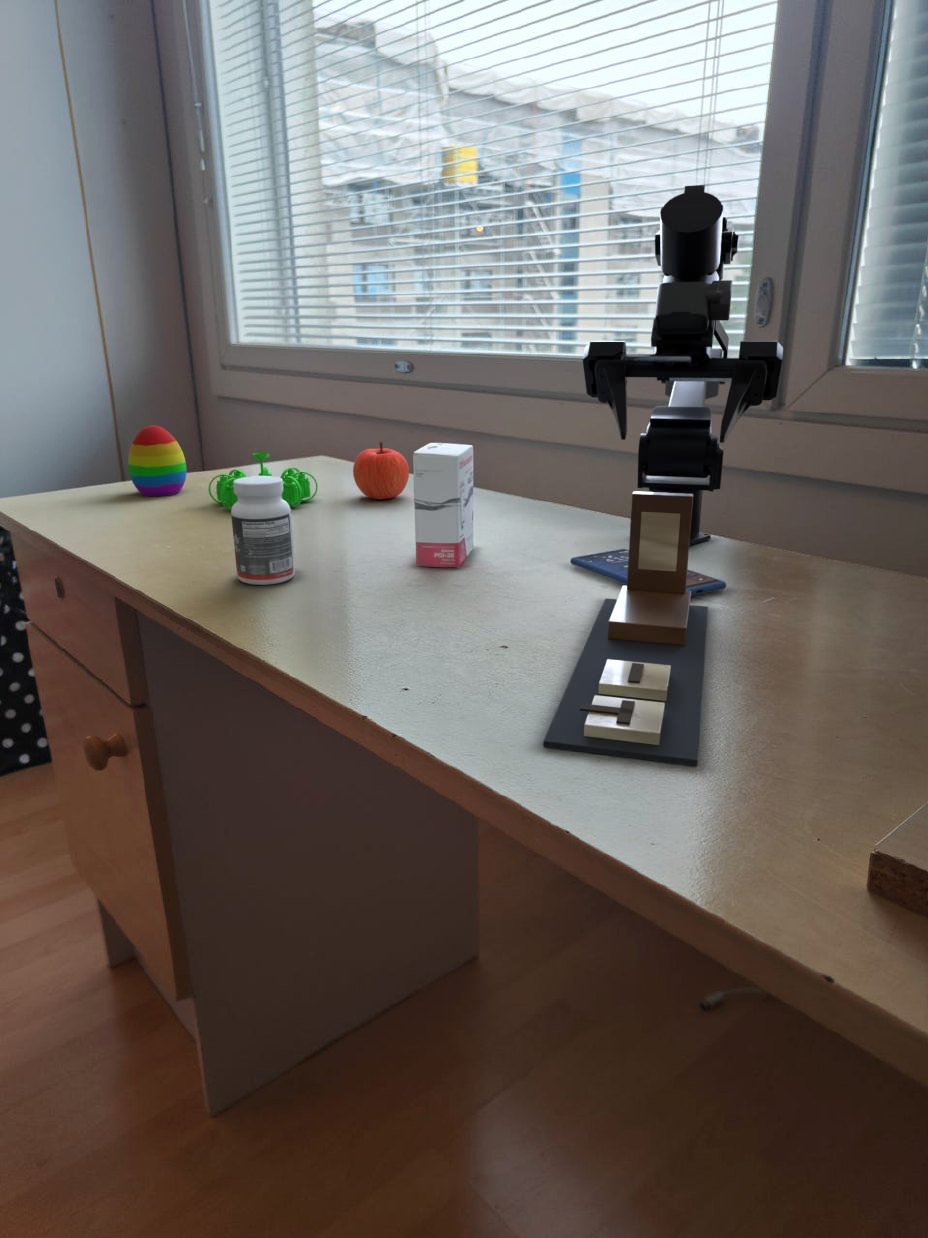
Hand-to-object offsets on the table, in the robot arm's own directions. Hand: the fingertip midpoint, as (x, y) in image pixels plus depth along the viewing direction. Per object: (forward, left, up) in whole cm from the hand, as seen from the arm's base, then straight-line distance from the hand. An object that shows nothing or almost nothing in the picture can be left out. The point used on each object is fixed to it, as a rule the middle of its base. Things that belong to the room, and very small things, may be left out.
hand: (671, 438), depth 82 cm
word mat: (+21, +12, -14) cm, 28 cm away
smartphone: (+2, -1, -14) cm, 14 cm away
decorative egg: (+16, -79, -14) cm, 81 cm away
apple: (-5, -52, -14) cm, 54 cm away
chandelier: (+9, -61, -14) cm, 63 cm away
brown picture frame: (+13, +8, -13) cm, 20 cm away
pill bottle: (+29, -28, -14) cm, 42 cm away
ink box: (+11, -21, -14) cm, 27 cm away
